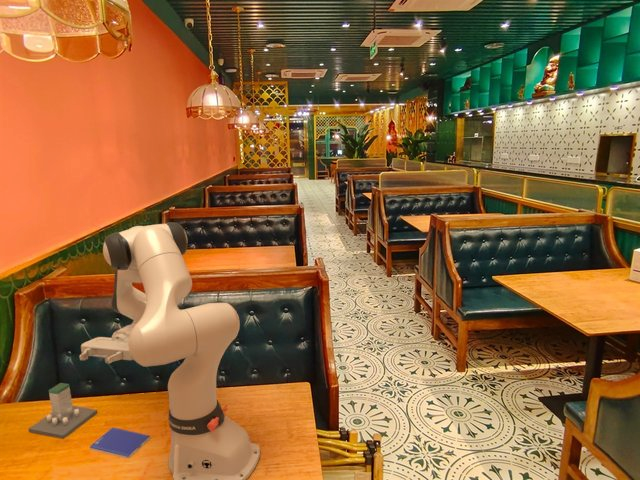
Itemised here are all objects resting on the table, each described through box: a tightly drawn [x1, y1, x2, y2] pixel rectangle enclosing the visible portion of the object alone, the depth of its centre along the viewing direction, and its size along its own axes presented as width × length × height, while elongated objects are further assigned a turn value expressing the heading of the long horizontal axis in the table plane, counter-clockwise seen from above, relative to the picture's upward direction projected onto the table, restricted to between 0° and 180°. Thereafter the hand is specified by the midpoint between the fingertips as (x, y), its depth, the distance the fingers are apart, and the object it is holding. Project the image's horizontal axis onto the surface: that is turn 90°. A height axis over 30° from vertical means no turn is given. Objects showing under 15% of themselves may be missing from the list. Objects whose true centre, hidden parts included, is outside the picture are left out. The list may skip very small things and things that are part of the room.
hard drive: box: [89, 427, 151, 459], centre depth 113 cm, size 2×8×12 cm
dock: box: [28, 405, 98, 440], centre depth 122 cm, size 12×12×3 cm
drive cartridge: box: [48, 382, 74, 424], centre depth 121 cm, size 3×4×10 cm
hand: (94, 359), depth 130 cm, fingers open, 8 cm apart
